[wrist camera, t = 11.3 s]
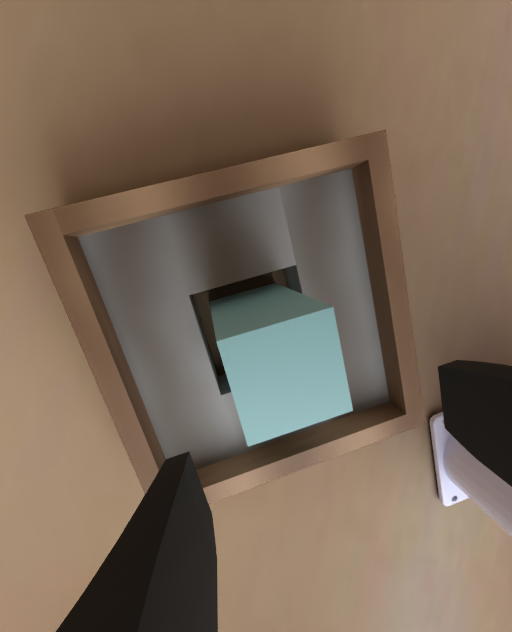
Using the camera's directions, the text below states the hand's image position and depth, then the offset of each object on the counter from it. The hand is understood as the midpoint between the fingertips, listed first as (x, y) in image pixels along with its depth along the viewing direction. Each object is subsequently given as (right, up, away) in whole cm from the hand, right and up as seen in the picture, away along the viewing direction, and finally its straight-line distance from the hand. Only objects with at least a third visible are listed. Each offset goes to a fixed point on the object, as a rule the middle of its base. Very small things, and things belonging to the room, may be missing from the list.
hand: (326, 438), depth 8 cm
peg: (-2, +3, +10) cm, 10 cm away
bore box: (-2, +3, +10) cm, 10 cm away
